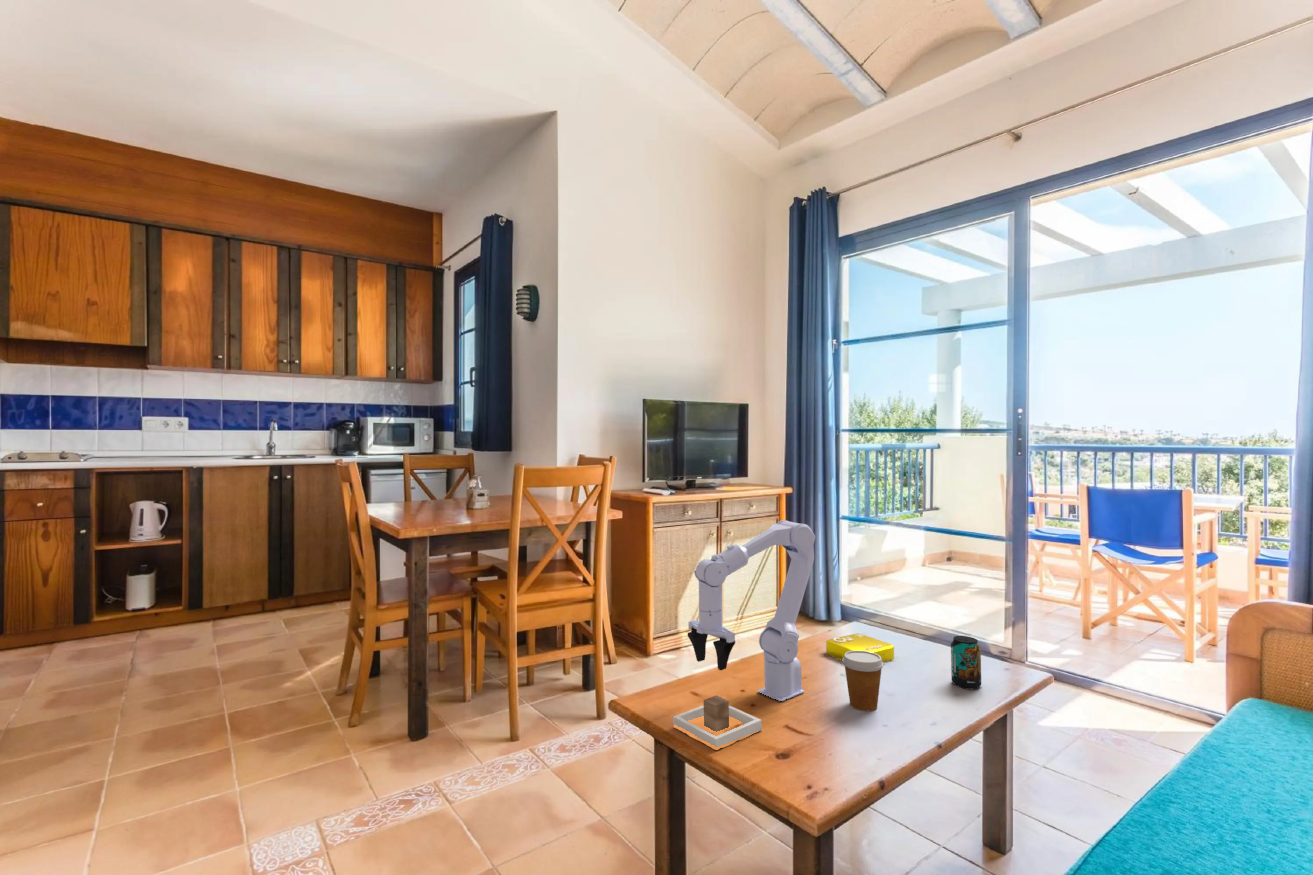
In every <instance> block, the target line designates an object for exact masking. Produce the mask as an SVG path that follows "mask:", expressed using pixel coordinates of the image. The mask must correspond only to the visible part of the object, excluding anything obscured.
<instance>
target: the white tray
mask: <svg viewBox="0 0 1313 875" xmlns="http://www.w3.org/2000/svg"><path fill="white" fill-rule="evenodd" d="M701 716H704V704H703V705H700V706H697V707H695V708H692V709H689V710H687V711H684V712H682V713H679V714H677V715H674V716H673V717H672V725H673V724H675V725H677V726H678V727H681V728H683V729H685V730H686V731H689V732H690V733H692V734H694V735H695V736H697V737H698V738H701V739H702V740H704V741H706V742H708V743H710V744H711V745H714V746H715V747H719V746H721V745H725V744H727V743H729V742H732V741H735V740H737V739H739V738H742V737H745V736H747V735H749V734H752V733H754V732H757V731H760V730H763V729H762V723H763V722H762V719H761V718H758V717H757V716H754V715H752V714H749V713H747V712H745V711H743V710H740V709H738V708H736V707H734V706H732V705H730V704H729V716H730V717H733V718H735V719H737V720H739V721H741V722H742V723H744V725H741V726H739V727H737V728H734V729H732V730H730V731H727V732H725V733H722V734H720V735H718V736H715V735H713V734H711V733H709V732H707V731H706V730H704V729H702V728H700V727H698V726H696V725H694V724H692V723H690V722H688V720H692V719H694V718H698V717H701Z"/></svg>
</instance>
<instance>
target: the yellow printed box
mask: <svg viewBox="0 0 1313 875" xmlns="http://www.w3.org/2000/svg"><path fill="white" fill-rule="evenodd" d="M825 645H826V646H825V648H826V650H825V651H826V652H825V653H827V654H826V655H828V656H830V655H831V657H832V656H833V658H835V657H836V658H835V659H837V658H838V660H840V659H841V660H840V661H842V659H843V658H844V654H845V653H846V652H849V651H856V650H858V651H868V652H872V653H875V654H878V655H879V656H881V659H882V662H883V663H887V662H890V660H891V661H893V659H894V660H895V646H894V644H892V643H888V642H886V641H882V640H880V639H876V638H874V637H871V636H868V635H864V634H861V633H853V634H848V635H844V636H843V635H842V636H838V637H834V638H830V639H827V640H826V641H825ZM886 661H887V662H886Z"/></svg>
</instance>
